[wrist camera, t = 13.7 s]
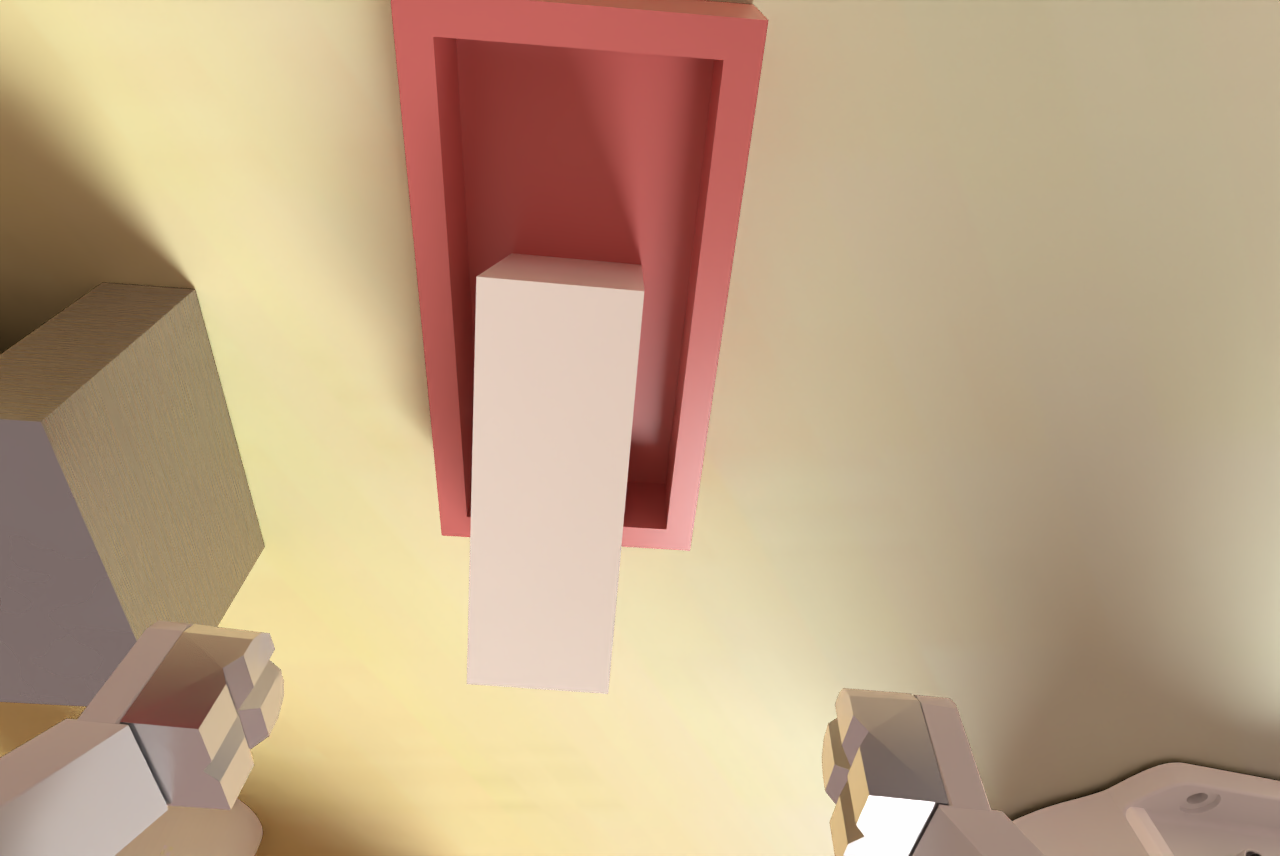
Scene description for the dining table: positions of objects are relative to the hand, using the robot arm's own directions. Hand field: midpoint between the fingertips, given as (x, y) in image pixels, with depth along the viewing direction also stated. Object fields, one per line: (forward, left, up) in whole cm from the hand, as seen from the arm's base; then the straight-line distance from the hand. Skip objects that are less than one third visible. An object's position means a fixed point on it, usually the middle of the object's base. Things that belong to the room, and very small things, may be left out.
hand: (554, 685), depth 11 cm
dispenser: (+17, +6, -13) cm, 22 cm away
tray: (+1, 0, -13) cm, 13 cm away
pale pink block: (+1, +4, -11) cm, 12 cm away
